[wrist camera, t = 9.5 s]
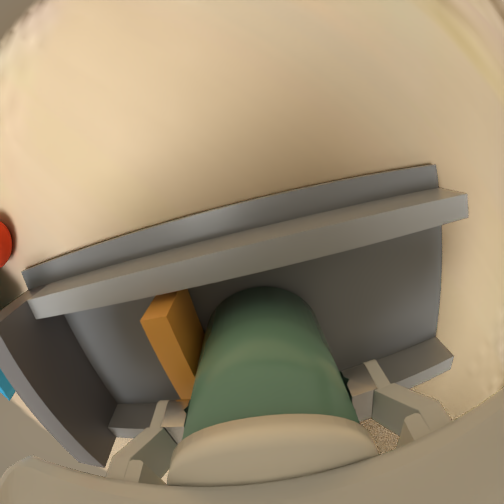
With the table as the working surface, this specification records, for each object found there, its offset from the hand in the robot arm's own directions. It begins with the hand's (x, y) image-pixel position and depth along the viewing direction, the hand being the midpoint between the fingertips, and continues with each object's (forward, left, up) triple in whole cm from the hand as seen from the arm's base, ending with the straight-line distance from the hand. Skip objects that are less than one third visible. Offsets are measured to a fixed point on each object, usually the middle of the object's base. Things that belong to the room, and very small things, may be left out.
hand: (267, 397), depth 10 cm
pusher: (0, +4, -5) cm, 6 cm away
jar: (0, 0, -4) cm, 4 cm away
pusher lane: (0, +1, -5) cm, 6 cm away
